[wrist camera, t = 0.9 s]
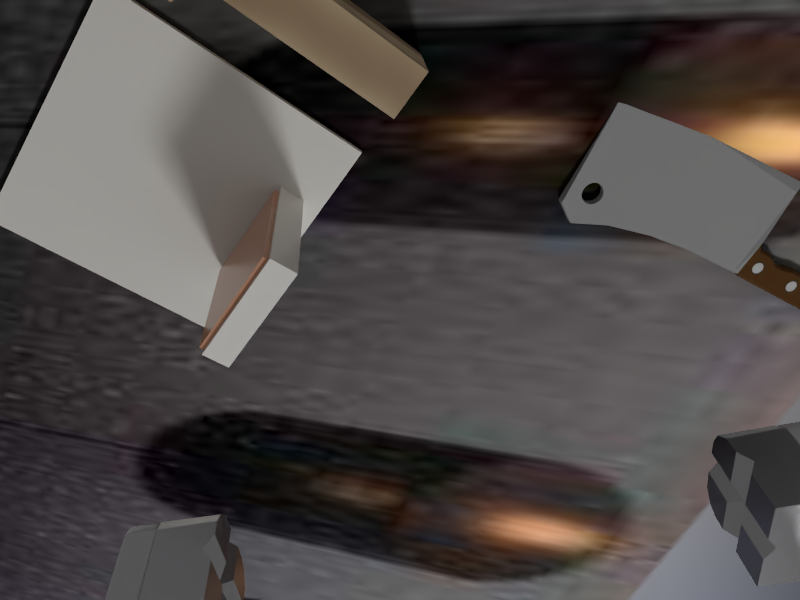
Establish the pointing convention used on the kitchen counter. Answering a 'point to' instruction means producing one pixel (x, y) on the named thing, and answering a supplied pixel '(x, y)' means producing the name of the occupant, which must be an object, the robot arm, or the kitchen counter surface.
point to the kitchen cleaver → (685, 195)
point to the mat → (160, 159)
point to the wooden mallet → (344, 46)
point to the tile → (254, 277)
